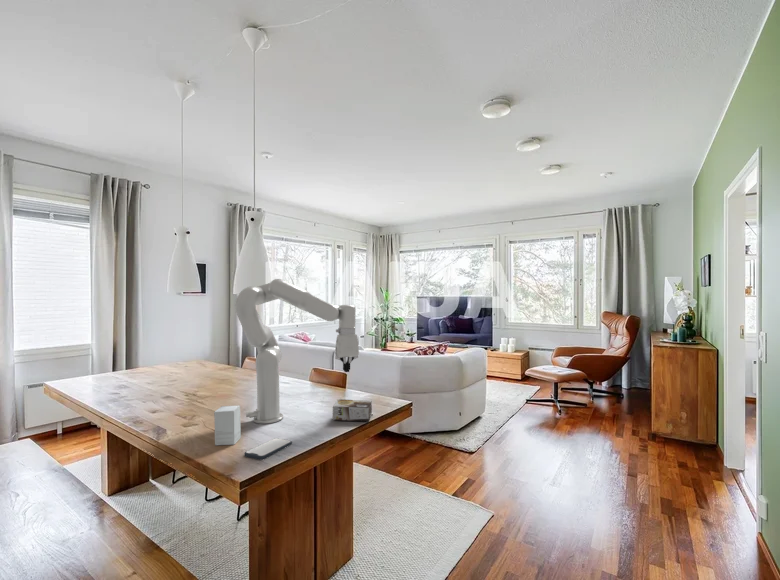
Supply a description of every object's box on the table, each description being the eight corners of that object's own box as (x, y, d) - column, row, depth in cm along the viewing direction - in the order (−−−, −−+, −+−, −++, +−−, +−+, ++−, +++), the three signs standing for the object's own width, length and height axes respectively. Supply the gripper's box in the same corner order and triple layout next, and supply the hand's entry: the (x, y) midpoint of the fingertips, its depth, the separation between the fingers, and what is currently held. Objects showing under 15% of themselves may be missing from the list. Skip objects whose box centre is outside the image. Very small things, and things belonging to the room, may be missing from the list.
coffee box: (332, 420, 164) (369, 422, 163) (332, 405, 164) (369, 407, 162) (337, 412, 173) (372, 414, 172) (337, 398, 173) (372, 400, 171)
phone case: (275, 441, 144) (242, 457, 130) (275, 437, 145) (242, 452, 130) (293, 445, 141) (262, 461, 126) (293, 440, 141) (262, 456, 126)
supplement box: (241, 437, 147) (241, 405, 147) (234, 445, 140) (234, 410, 140) (222, 438, 147) (221, 405, 147) (214, 445, 140) (213, 411, 140)
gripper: (333, 332, 168) (332, 374, 167) (365, 331, 174) (364, 372, 173) (329, 331, 174) (328, 371, 174) (359, 330, 181) (359, 369, 180)
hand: (346, 371), depth 174 cm, fingers closed
